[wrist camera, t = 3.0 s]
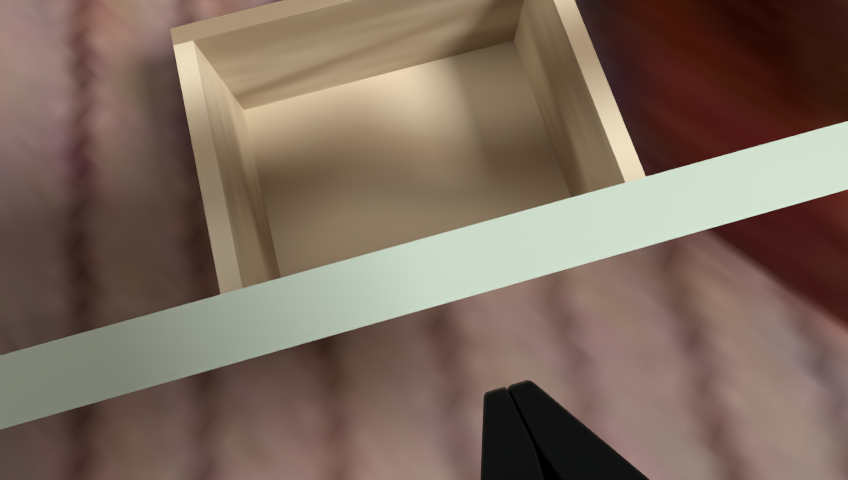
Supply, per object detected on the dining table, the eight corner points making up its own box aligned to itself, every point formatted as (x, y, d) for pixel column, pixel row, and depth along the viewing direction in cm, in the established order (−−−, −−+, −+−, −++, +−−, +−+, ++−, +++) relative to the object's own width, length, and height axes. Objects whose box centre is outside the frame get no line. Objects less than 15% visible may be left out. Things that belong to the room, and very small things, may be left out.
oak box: (597, 240, 19) (654, 197, 14) (278, 329, 19) (225, 317, 14) (521, 33, 21) (547, -66, 16) (231, 107, 21) (169, 28, 16)
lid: (651, 184, 14) (661, 215, 14) (220, 303, 14) (228, 337, 14) (1111, 15, 5) (1143, 105, 5) (-177, 366, 4) (-154, 472, 4)
